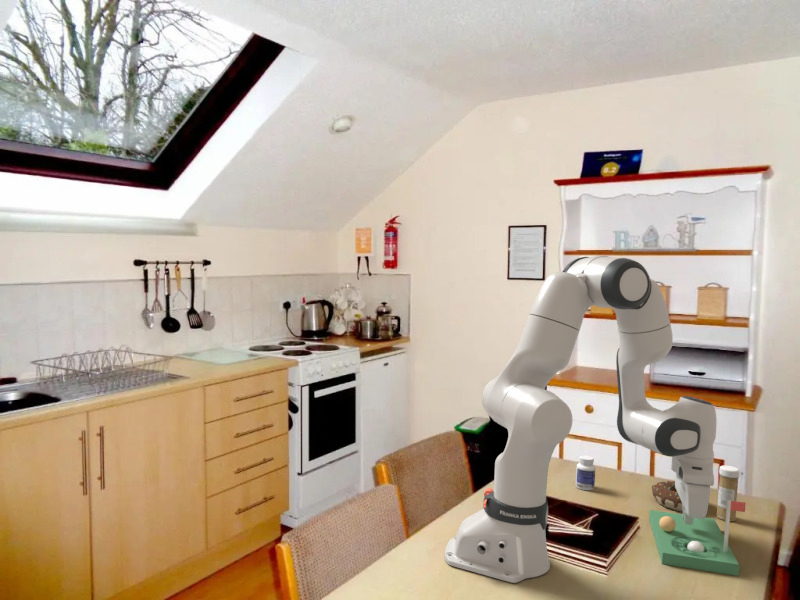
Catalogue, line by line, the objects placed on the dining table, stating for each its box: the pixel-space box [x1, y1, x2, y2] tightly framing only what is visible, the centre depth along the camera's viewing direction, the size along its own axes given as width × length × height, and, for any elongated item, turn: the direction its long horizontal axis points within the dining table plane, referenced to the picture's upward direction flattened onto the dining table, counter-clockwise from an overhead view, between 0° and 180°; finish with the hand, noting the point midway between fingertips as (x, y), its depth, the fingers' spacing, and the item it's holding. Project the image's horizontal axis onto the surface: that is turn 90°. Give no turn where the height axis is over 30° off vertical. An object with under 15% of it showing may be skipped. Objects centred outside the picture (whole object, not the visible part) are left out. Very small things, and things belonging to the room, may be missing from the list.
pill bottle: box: [575, 454, 596, 491], centre depth 176 cm, size 5×5×9 cm
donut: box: [651, 480, 683, 513], centre depth 167 cm, size 14×14×5 cm
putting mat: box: [648, 500, 746, 577], centre depth 142 cm, size 17×24×14 cm
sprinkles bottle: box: [716, 464, 740, 522], centre depth 158 cm, size 5×5×14 cm
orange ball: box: [659, 516, 676, 532], centre depth 143 cm, size 4×4×4 cm
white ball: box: [687, 541, 704, 553], centre depth 137 cm, size 4×4×4 cm
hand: (687, 522), depth 145 cm, fingers closed
